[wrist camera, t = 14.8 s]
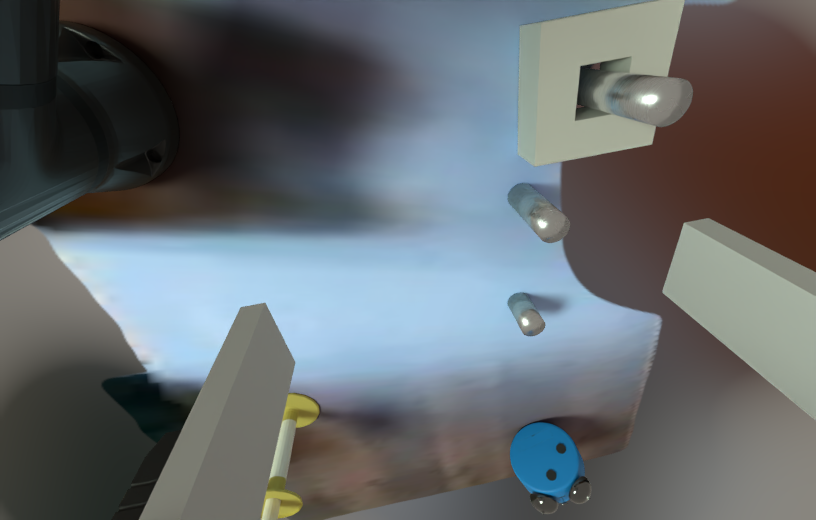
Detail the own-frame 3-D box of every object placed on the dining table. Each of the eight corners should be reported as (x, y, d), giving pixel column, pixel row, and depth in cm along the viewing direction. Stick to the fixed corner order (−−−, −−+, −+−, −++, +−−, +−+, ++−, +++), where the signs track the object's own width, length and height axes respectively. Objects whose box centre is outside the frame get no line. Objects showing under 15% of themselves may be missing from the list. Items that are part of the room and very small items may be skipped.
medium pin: (507, 209, 45) (537, 245, 37) (507, 185, 43) (539, 217, 35) (532, 205, 45) (568, 239, 37) (533, 180, 43) (571, 211, 35)
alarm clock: (509, 445, 77) (537, 524, 64) (500, 433, 74) (527, 513, 61) (564, 424, 75) (604, 502, 62) (557, 410, 72) (598, 489, 59)
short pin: (507, 311, 55) (521, 338, 50) (507, 294, 53) (522, 321, 48) (528, 307, 55) (544, 333, 50) (528, 290, 53) (546, 316, 48)
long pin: (559, 104, 39) (643, 130, 27) (561, 71, 37) (653, 83, 25) (588, 99, 39) (685, 122, 27) (592, 65, 37) (698, 74, 25)
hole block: (517, 154, 41) (534, 166, 37) (519, 25, 34) (541, 22, 30) (622, 134, 41) (651, 144, 37) (646, 1, 34) (685, -5, 30)
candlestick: (303, 431, 66) (259, 702, 39) (253, 417, 62) (166, 706, 35) (329, 403, 63) (301, 681, 35) (278, 386, 59) (201, 683, 31)
